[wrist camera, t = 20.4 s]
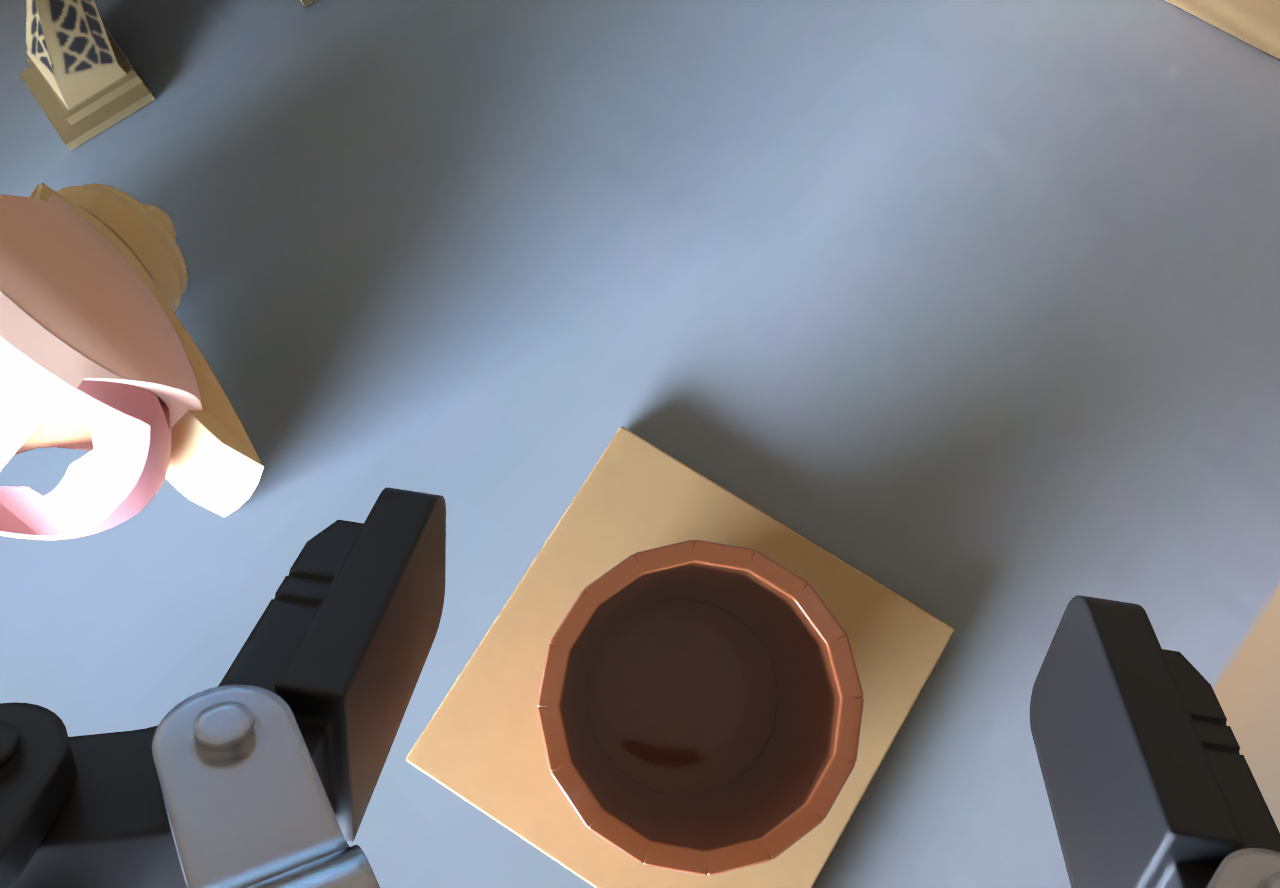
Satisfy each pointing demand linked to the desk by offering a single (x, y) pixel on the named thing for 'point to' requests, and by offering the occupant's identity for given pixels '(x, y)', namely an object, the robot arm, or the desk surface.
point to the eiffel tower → (80, 69)
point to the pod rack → (1241, 20)
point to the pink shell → (106, 367)
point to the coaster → (568, 562)
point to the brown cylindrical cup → (700, 707)
